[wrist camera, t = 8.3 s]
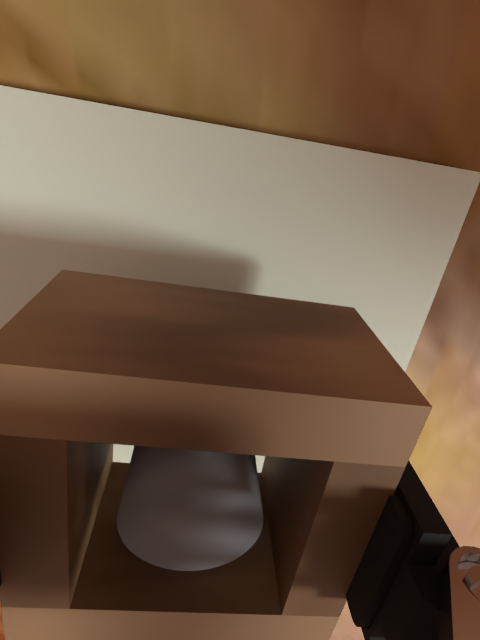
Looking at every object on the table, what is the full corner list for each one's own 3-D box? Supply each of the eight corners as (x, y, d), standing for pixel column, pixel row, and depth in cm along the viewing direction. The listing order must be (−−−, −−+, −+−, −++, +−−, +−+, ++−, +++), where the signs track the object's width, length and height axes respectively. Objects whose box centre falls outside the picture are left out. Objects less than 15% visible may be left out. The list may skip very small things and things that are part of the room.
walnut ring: (354, 307, 10) (432, 407, 7) (293, 505, 13) (324, 649, 9) (62, 269, 9) (-32, 360, 6) (66, 490, 12) (6, 643, 9)
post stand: (462, 169, 12) (733, 216, 6) (339, 502, 18) (408, 706, 12) (-41, 78, 10) (-429, 3, 4) (3, 480, 16) (-130, 706, 10)
